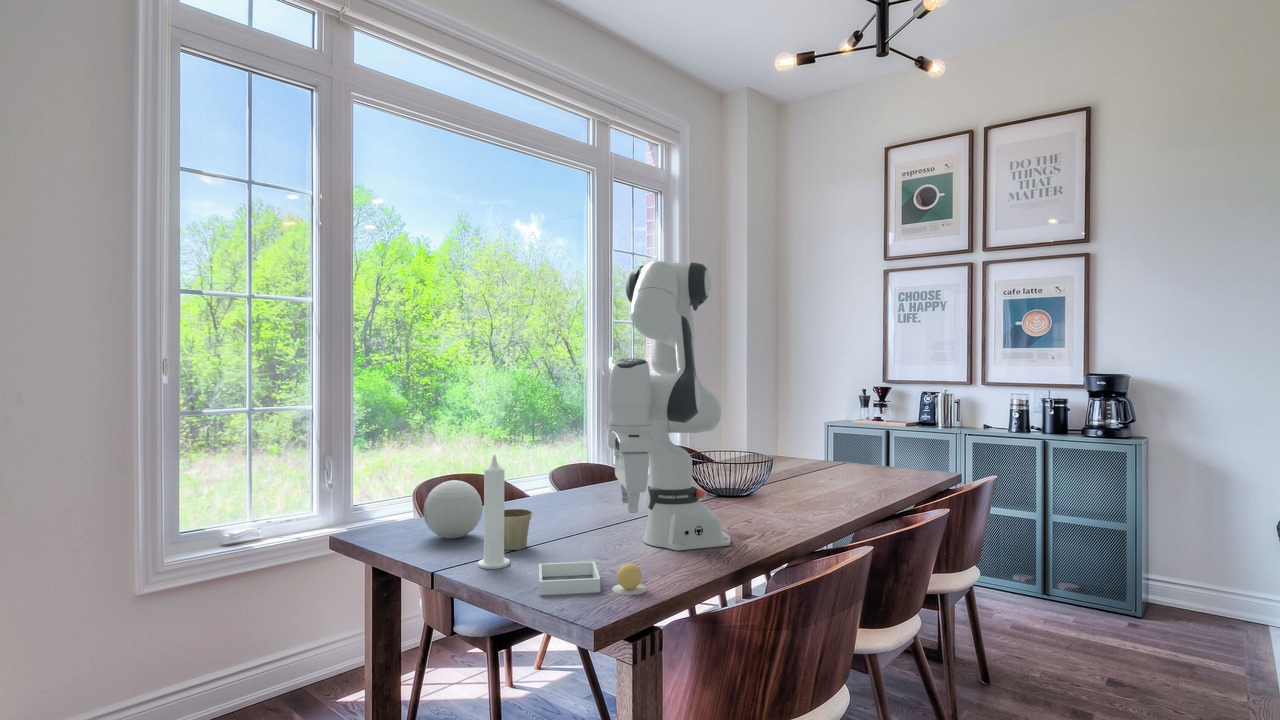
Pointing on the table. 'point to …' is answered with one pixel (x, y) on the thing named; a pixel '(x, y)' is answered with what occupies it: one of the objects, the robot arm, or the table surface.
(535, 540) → the table surface
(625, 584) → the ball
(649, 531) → the robot arm
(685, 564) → the table surface
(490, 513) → the candle
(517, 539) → the flower pot
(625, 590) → the coaster
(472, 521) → the decorative object
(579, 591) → the shallow white box
